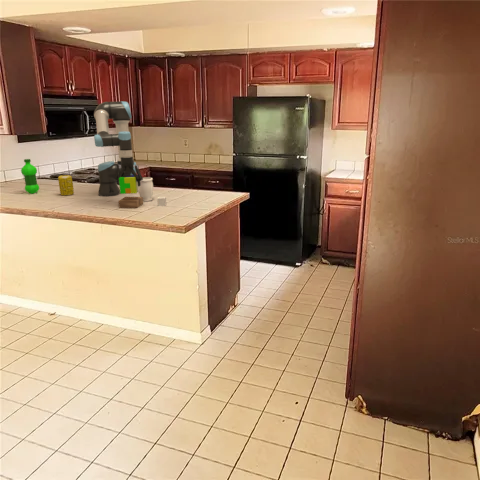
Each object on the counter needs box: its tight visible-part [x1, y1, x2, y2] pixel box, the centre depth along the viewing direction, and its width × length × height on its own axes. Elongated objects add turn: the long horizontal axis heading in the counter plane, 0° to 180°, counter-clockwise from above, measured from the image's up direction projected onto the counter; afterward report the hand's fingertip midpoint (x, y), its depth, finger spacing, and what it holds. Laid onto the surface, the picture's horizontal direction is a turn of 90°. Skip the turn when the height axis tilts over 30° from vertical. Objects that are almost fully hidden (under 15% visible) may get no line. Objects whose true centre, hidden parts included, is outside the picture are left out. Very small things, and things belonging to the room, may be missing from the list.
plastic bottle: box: [20, 158, 40, 195], centre depth 314 cm, size 10×10×25 cm
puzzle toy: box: [119, 175, 138, 195], centre depth 272 cm, size 10×10×10 cm
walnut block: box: [118, 196, 144, 209], centre depth 276 cm, size 12×12×5 cm
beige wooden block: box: [156, 196, 167, 207], centre depth 278 cm, size 5×5×5 cm
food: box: [57, 174, 75, 196], centre depth 308 cm, size 15×12×10 cm
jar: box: [138, 176, 154, 202], centre depth 290 cm, size 11×10×15 cm
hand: (130, 191), depth 274 cm, fingers closed on puzzle toy, 11 cm apart
